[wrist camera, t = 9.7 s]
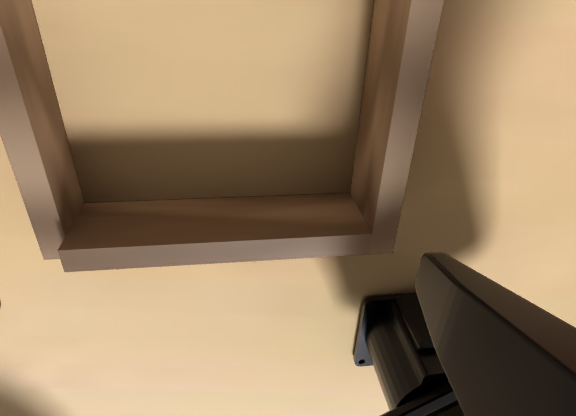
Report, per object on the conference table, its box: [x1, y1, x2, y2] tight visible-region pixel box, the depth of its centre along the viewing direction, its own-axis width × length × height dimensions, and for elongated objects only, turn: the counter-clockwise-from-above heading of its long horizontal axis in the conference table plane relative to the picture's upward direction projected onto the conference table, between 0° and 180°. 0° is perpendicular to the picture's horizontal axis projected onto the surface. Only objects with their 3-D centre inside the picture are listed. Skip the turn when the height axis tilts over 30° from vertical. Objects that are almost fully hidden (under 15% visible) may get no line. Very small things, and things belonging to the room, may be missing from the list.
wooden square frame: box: [0, 0, 444, 272], centre depth 17 cm, size 16×16×4 cm
